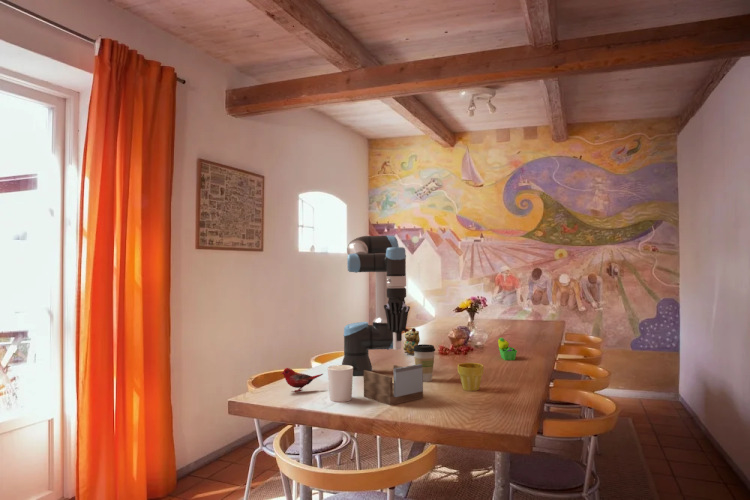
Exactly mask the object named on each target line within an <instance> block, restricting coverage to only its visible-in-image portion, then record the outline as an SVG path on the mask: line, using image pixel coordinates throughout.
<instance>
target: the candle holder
mask: <svg viewBox="0 0 750 500" xmlns="http://www.w3.org/2000/svg"><path fill="white" fill-rule="evenodd" d="M327 376H328V378H327V380H328V393H329V400H330V401H331V402H336V403H344V402H349V401H351V400H352V396H353V381H354V380H353V378H354V377H353V376H354V375H353V367H352V366H349V365H342V364H337V365H330V366H328V367H327Z"/></svg>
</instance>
